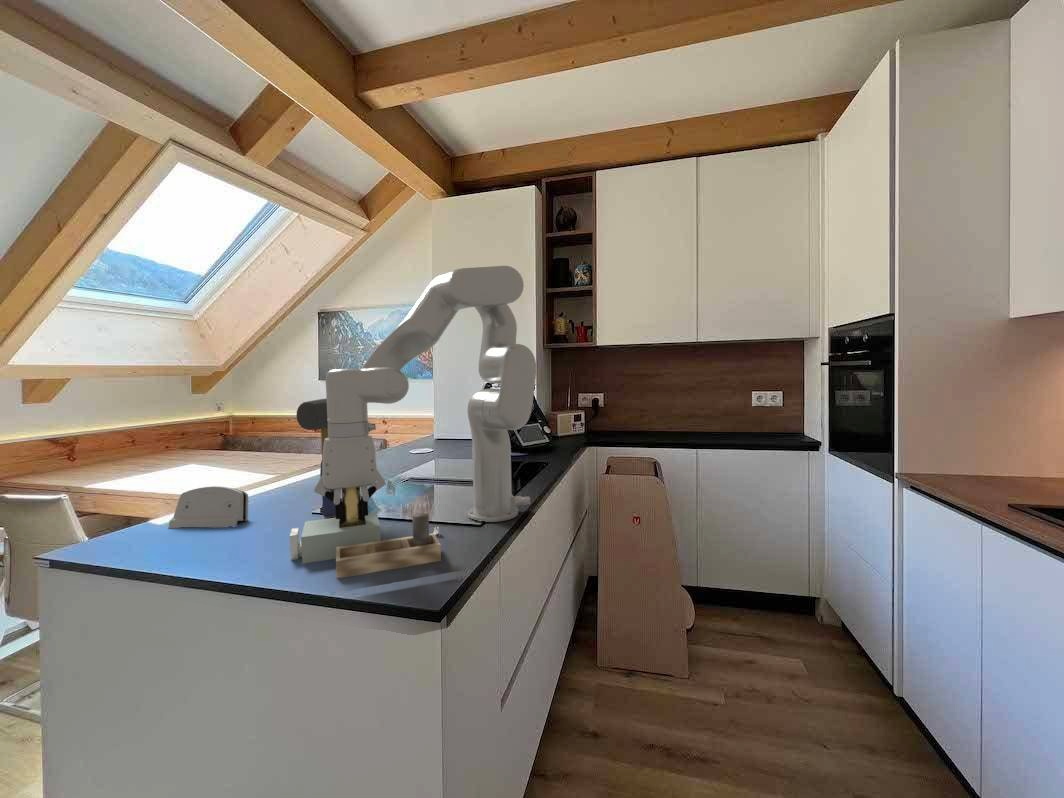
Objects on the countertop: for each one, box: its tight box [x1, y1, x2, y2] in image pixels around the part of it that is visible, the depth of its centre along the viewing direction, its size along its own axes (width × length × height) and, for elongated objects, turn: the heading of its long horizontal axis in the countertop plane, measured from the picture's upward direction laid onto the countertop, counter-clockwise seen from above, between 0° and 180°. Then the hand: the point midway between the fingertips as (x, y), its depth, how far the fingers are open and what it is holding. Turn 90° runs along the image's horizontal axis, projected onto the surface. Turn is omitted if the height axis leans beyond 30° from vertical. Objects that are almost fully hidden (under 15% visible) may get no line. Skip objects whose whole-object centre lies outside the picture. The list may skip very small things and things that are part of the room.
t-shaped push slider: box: [289, 527, 302, 561], centre depth 93 cm, size 8×4×5 cm, turn 112°
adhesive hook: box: [432, 526, 440, 538], centre depth 101 cm, size 3×3×3 cm
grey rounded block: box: [168, 485, 249, 529], centre depth 116 cm, size 17×5×10 cm, turn 91°
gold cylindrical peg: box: [341, 487, 362, 527], centre depth 95 cm, size 3×3×13 cm
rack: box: [335, 512, 442, 579], centre depth 87 cm, size 18×7×9 cm, turn 112°
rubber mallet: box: [296, 398, 336, 519], centre depth 118 cm, size 12×8×30 cm, turn 159°
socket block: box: [300, 512, 382, 565], centre depth 95 cm, size 14×10×6 cm
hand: (352, 519), depth 95 cm, fingers closed on gold cylindrical peg, 3 cm apart
